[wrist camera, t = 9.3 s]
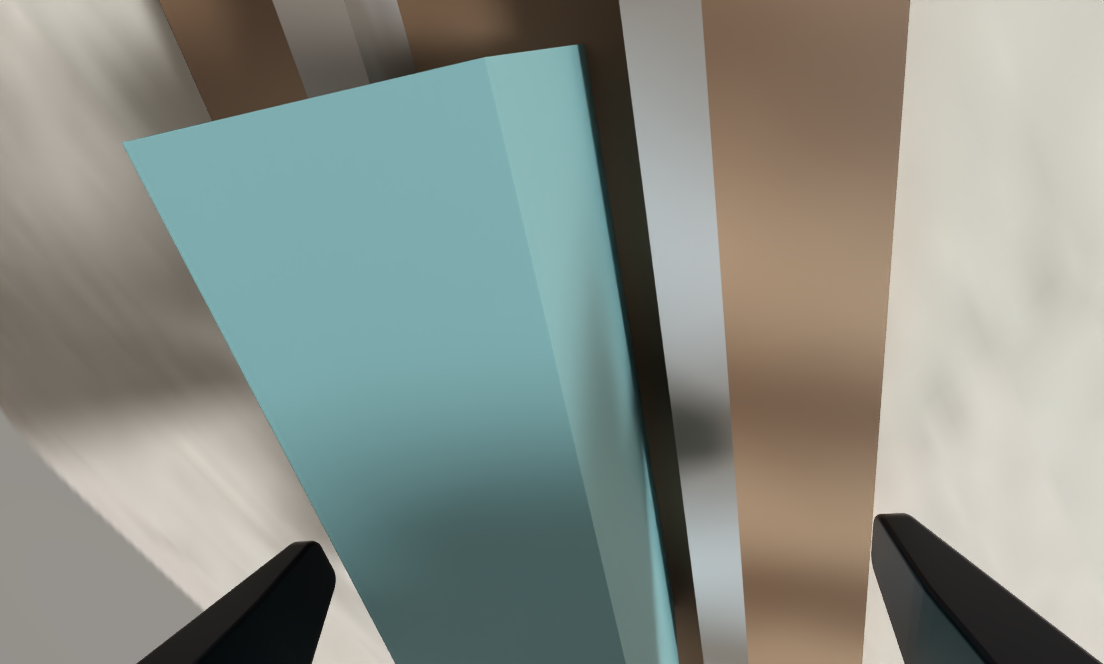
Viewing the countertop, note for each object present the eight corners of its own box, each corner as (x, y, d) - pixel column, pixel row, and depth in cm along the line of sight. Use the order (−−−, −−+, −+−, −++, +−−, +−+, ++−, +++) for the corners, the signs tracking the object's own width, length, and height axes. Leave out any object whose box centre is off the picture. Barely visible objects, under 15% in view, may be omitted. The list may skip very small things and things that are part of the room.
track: (847, 663, 17) (887, 779, 14) (474, 662, 19) (449, 760, 17) (903, -376, 7) (1058, -611, 5) (148, -117, 10) (-32, -174, 7)
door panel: (674, 608, 15) (702, 993, 9) (588, 609, 16) (559, 976, 10) (584, 43, 9) (483, 56, 3) (447, 75, 10) (120, 143, 3)
